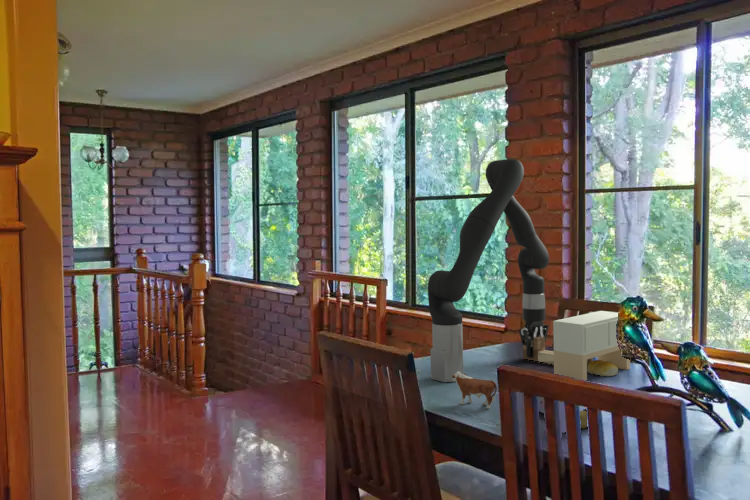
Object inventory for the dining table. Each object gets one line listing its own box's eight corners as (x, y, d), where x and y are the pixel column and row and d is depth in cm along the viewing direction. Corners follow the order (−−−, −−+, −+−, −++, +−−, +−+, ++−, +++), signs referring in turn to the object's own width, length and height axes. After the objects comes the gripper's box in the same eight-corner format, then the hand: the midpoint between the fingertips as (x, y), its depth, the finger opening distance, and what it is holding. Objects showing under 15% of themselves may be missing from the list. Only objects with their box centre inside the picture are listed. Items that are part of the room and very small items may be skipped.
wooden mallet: (585, 371, 195) (585, 346, 194) (523, 359, 213) (523, 336, 213) (593, 369, 197) (592, 344, 197) (530, 357, 216) (530, 334, 215)
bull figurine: (455, 398, 171) (455, 369, 170) (499, 406, 162) (499, 376, 162) (447, 402, 167) (446, 372, 167) (491, 411, 159) (491, 379, 158)
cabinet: (584, 384, 180) (584, 324, 179) (554, 377, 188) (553, 320, 187) (631, 369, 196) (631, 314, 195) (601, 363, 205) (601, 310, 204)
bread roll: (600, 368, 198) (600, 356, 198) (622, 374, 190) (622, 361, 190) (580, 372, 195) (580, 359, 195) (602, 378, 187) (602, 365, 186)
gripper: (530, 310, 204) (530, 361, 205) (555, 305, 213) (556, 354, 214) (511, 307, 210) (512, 358, 211) (537, 303, 219) (537, 351, 220)
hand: (534, 356), depth 212 cm, fingers closed on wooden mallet, 4 cm apart
